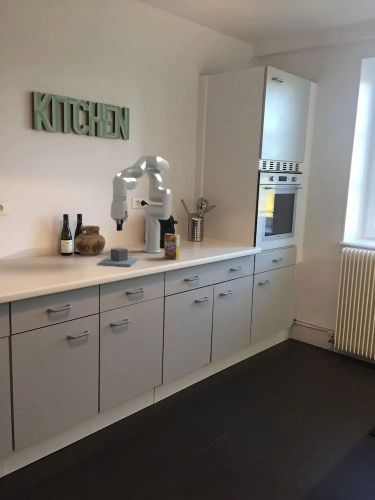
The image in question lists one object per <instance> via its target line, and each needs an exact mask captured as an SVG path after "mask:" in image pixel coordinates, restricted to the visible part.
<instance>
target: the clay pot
mask: <svg viewBox="0 0 375 500" xmlns="http://www.w3.org/2000/svg"><path fill="white" fill-rule="evenodd" d="M79 228H80V231H81V232H83V233H80V234H78V235H77V236H76V237H75V239H74V247H75V249H76V251H77V252H78V253H79V254H81V255H82V256H83V255H84V256H97V255H100V254H101V253H103V251H104V248H105V247H106V239H105V237H104V236H102V235H101V234H100V226H98V225H82V226H81V225H80V227H79Z"/></svg>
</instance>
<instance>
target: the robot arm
mask: <svg viewBox="0 0 375 500" xmlns="http://www.w3.org/2000/svg"><path fill="white" fill-rule="evenodd" d="M169 171H170V163H169V162H168V161H167V160H165V159H164V158H162V157H160V156H159V155H149V154H147V155H142V156H141V157H139V159H138V160H137V161H136V162H135V163H134V164H133V165H131V166H129V167H127V168H124V169H122V170H120V171H118V172H117V174H115V176H114V177H113V179H112V201H111V205H110V218H111V219H112V220H113V221H114V222H115V224H116V231H117V232H120V231H121V232H122V231H123V224H124V223H125V222H127V221H128V218H129V217H128V216H129V209H128V207H129V206H128V202H127V191H128V190H129V191H132V190H135V189H136V187H137V186H138V181H137V179H140V178H142V177H143V176H144V175H145V174H146V175H147V177H148V180H149V184H148V194H147V195H148V196H147V197H148V200H149V202H150V204H147V205H146V206H144V207H145V208H144V217H145V248H142V251H143V252H144V253H149V254H150V253H151V254H159V253H162V252H163V249H162V248H161V246H160V245H161V243H160V242H161V241H160V240H161V223H160V221H159V220H165V221H167V220H169V219H170V217H171V214H172V203H173V193H172V191H171V189H169V188H164V187H163V179H162V176H160V175H166V174H168V173H169ZM151 202H152V203H151ZM154 203H155V204H154ZM156 203H161V204H156Z"/></svg>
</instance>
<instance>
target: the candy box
mask: <svg viewBox="0 0 375 500" xmlns="http://www.w3.org/2000/svg"><path fill="white" fill-rule="evenodd" d="M180 239H181V235H180V234H175V233H165V234H164V247H163V248H164V251H163V252H164V255H163V258H164V259H172V260H176V261H177V260H179V259H180Z"/></svg>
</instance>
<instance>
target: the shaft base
mask: <svg viewBox="0 0 375 500" xmlns="http://www.w3.org/2000/svg"><path fill="white" fill-rule="evenodd" d="M138 261H139V257H134V256H132V257H131V256H128V260H125V261H120V262H118V261H114V260H111V255H108V256H106V257H105V258H104V259H102V260H100V261H99V262H98V265H99V266H109V267H110V266H111V267H123V268H124V267H125V268H127V267H128V268H130V267H132V266H133V265H134V264H135V263H137V262H138Z"/></svg>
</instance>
